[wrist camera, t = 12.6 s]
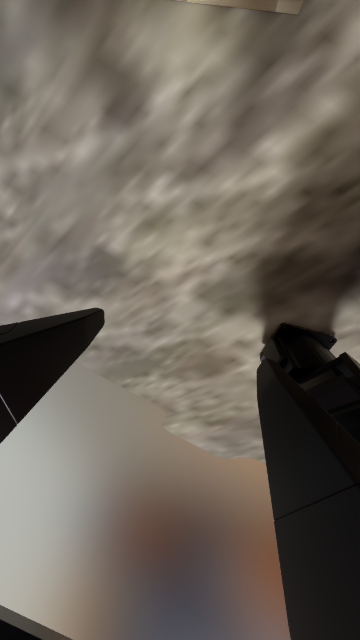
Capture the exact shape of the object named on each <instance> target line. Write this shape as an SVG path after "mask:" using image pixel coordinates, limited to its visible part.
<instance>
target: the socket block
mask: <svg viewBox="0 0 360 640" xmlns="http://www.w3.org/2000/svg"><path fill="white" fill-rule="evenodd" d="M176 1H185V2H193V3H202V4H211V5H219V6H228V7H237V8H245V9H254V10H263V11H271V12H280V13H289V14H298V15H299V12H300V10H301V7H302V4H303V1H304V0H176Z"/></svg>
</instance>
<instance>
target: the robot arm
mask: <svg viewBox="0 0 360 640" xmlns="http://www.w3.org/2000/svg"><path fill="white" fill-rule="evenodd" d="M104 322H105V320H104V310H103V309H99V308H91V309H86V310H81V311H75V312H70V313H65V314H60V315H54V316H49V317H44V318H39V319H33V320H28V321H23V322H20V323H12V324H7V325H1V326H0V443H1V442H2V441H3V440H4V439H5V438H6V437H7V436H8V435H9V433H10V432H11V431H12V430H13V429H14V428H15V427H16V426H17V424H18V423H19V422H20V421H21V420H22V419H23V418H24V417H25V416H26V415H27V414H28V412H29V411H30V410H31V409H32V408H33V407H34V406H35V405H36V403H38V401H39V400H40V399H41V398H42V397H43V396H44V395H45V394H46V393H47V391H48V390H49V389H50V388H51V387H52V386H53V385H54V384H55V383H56V382H57V380H58V379H59V378H60V377H61V376H62V375H63V374H64V373H65V372H66V371H67V369H68V368H69V367H70V366H71V365H72V364H73V363H74V362H75V361H76V360H77V358H78V357H79V356H80V355H81V354H82V353H83V352H84V351H85V350H86V348H87V347H88V346H89V345H90V344H91V342H92V341H93V340H94V338H95V337H96V335H97V334H98V333H99V331H100V330H101V328H102V327H103V326H104ZM284 326H286V328H283V327H284ZM331 339H332V340H331ZM330 340H331V341H330ZM336 342H337V339H336V338H335V337H334V336H331V335H327V334H324V333H320V332H316V331H313V330H309V329H305V328H302V327H298V326H294V325H291V324H287V323H282V324H281V325H280V326H279V328H278V329H277V331H276V332H275V334H274V336H272V337H271V338H270V340H269V341H268V343H267V345H266V346H265V348H264V350H263V354H262V355H261V357H260V360H261V364H260V366H259V367H258V369H257V401H258V409H259V416H260V423H261V430H262V438H263V445H264V452H265V459H266V466H267V473H268V481H269V488H270V495H271V502H272V509H273V517H274V520H275V521H274V524H275V532H276V539H277V546H278V554H279V561H280V568H281V575H282V582H283V589H284V597H285V604H286V611H287V618H288V625H289V631H290V637H291V640H360V364H359V363H358V362H357V361H356V360H354V359H353V358H352V357H351V356H350V355H348V354H347V353H346V352H344V353H342V354H340V355H339V357H337V358H335V356H334V355H333V354H332V353H331V352H330V351H329V350H330V349H331V348H332V346H333V345H334V344H335V343H336ZM0 640H72V639H70V638H68V637H66V636H64V635H62V634H60V633H58V632H55V631H54V630H51V629H49V628H47V627H45V626H43V625H41V624H39V623H37V622H35V621H32V620H30V619H28V618H26V617H24V616H22V615H20V614H18V613H16V612H14V611H11V610H10V609H7V608H5V607H3V606H1V605H0Z"/></svg>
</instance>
